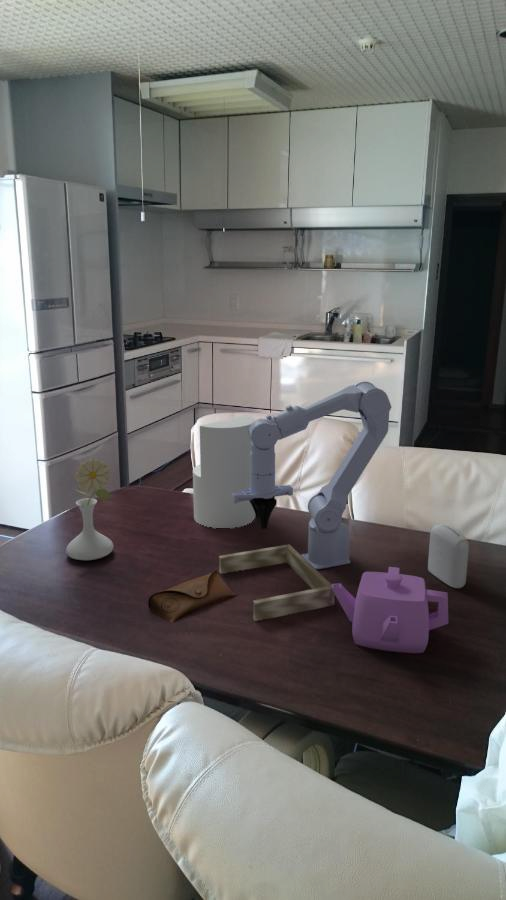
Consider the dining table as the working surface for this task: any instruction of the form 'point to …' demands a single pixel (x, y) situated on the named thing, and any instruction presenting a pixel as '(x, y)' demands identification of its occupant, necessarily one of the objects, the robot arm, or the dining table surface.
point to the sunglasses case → (189, 596)
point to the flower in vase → (90, 512)
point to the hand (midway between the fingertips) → (262, 527)
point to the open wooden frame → (286, 603)
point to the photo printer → (448, 555)
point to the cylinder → (223, 474)
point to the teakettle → (392, 611)
